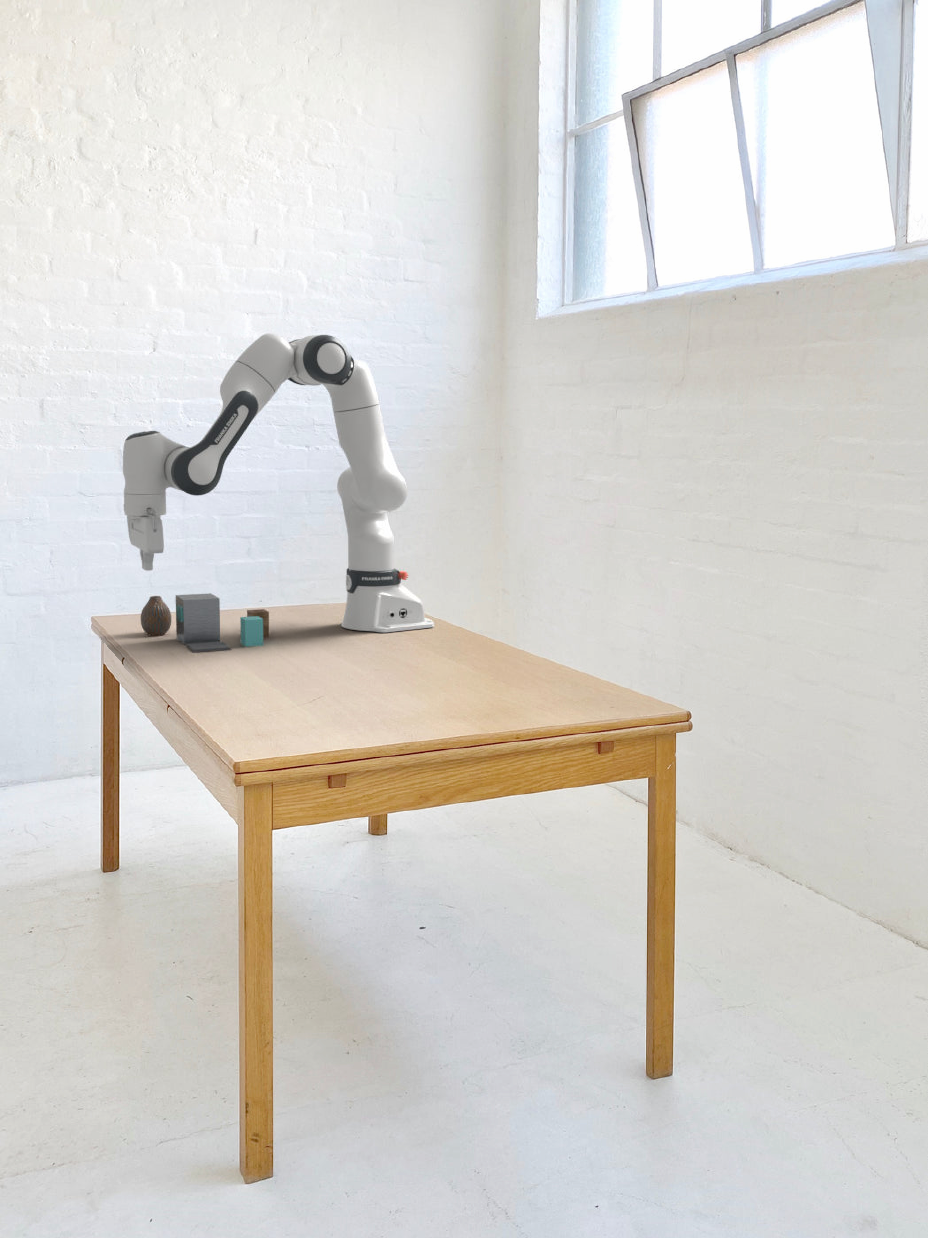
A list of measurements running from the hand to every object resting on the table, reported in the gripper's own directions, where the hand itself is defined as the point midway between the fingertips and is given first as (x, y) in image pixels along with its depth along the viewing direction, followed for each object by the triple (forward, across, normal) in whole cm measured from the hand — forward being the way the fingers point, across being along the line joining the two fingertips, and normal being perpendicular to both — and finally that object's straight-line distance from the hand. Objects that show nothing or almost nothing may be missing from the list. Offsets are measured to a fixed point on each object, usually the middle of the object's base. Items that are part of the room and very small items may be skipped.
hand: (147, 569), depth 262 cm
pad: (+17, -10, -11) cm, 22 cm away
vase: (+17, +12, -4) cm, 21 cm away
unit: (+17, 0, -11) cm, 20 cm away
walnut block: (+17, 0, -25) cm, 30 cm away
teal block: (+17, -8, -21) cm, 28 cm away
